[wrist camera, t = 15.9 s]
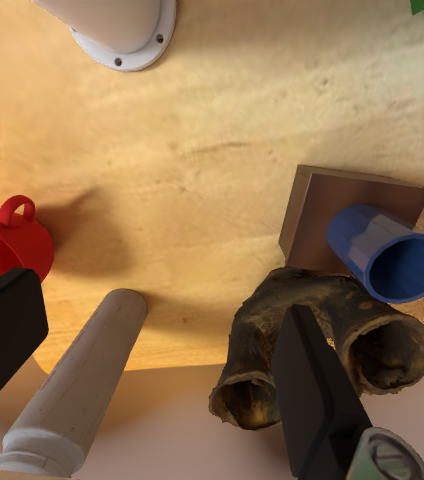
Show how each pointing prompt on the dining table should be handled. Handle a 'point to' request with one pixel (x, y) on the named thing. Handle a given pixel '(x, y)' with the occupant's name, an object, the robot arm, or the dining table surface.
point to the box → (298, 194)
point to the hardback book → (417, 6)
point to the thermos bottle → (76, 392)
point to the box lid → (335, 200)
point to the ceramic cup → (24, 239)
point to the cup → (380, 252)
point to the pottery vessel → (333, 326)
